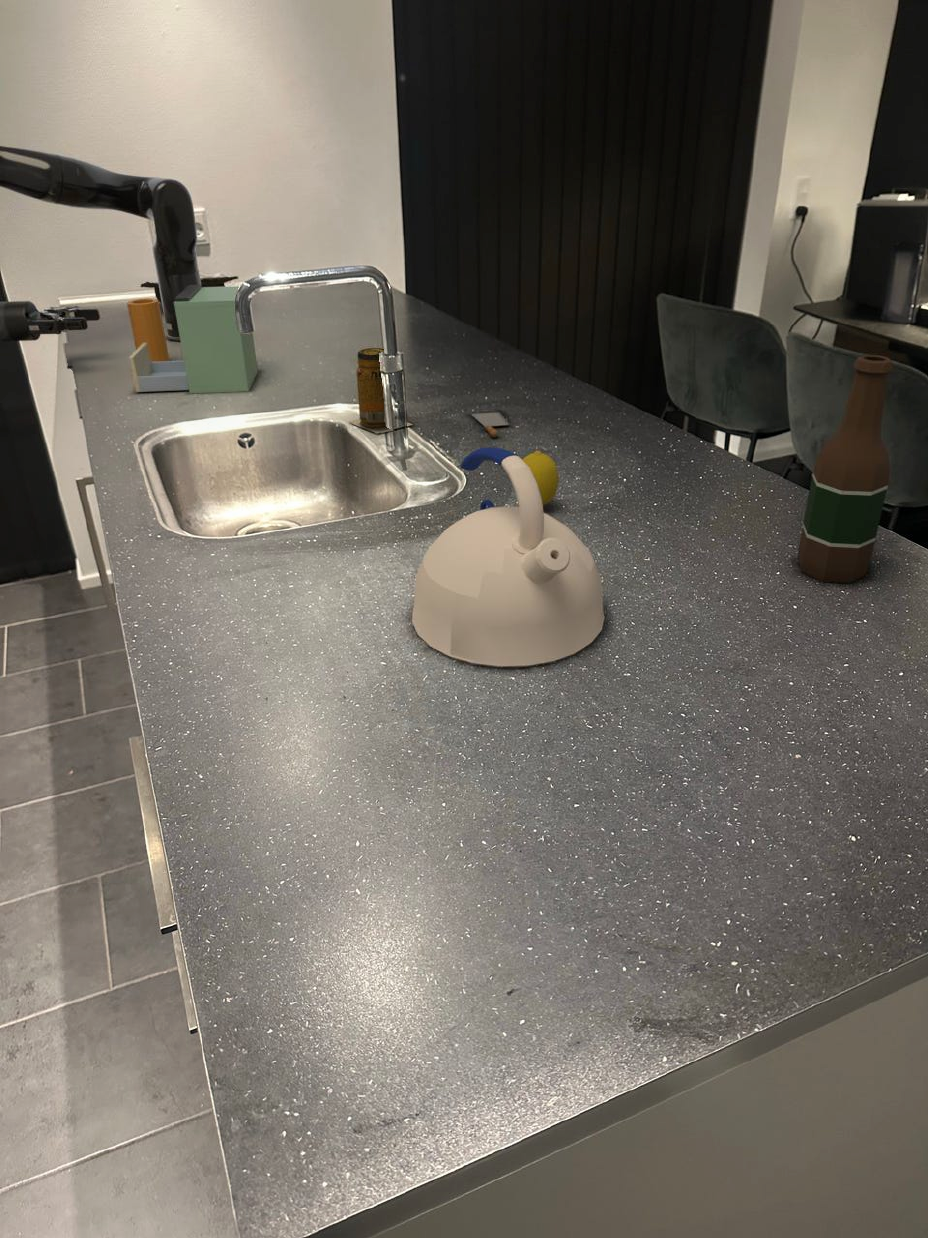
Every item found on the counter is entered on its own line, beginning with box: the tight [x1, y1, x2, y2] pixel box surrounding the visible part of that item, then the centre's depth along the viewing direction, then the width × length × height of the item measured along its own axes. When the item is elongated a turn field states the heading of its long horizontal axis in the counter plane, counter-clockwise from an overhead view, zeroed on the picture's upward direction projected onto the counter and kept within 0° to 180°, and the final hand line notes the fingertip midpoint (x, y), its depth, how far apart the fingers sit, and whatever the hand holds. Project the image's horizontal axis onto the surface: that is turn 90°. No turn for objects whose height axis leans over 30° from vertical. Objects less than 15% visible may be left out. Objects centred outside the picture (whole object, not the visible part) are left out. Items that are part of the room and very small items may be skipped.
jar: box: [126, 297, 171, 362], centre depth 184 cm, size 6×6×13 cm
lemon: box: [522, 450, 559, 506], centre depth 118 cm, size 6×6×8 cm
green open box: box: [174, 285, 259, 394], centre depth 171 cm, size 14×11×17 cm
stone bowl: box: [140, 275, 239, 304], centre depth 235 cm, size 25×25×9 cm
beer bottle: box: [797, 354, 894, 584], centre depth 97 cm, size 8×8×24 cm
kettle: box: [411, 446, 605, 668], centre depth 91 cm, size 20×21×18 cm
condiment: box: [349, 347, 413, 434], centre depth 148 cm, size 7×8×12 cm
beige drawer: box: [128, 343, 189, 393], centre depth 173 cm, size 11×11×6 cm
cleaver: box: [470, 411, 510, 439], centre depth 150 cm, size 13×1×5 cm
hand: (92, 318), depth 181 cm, fingers open, 8 cm apart
